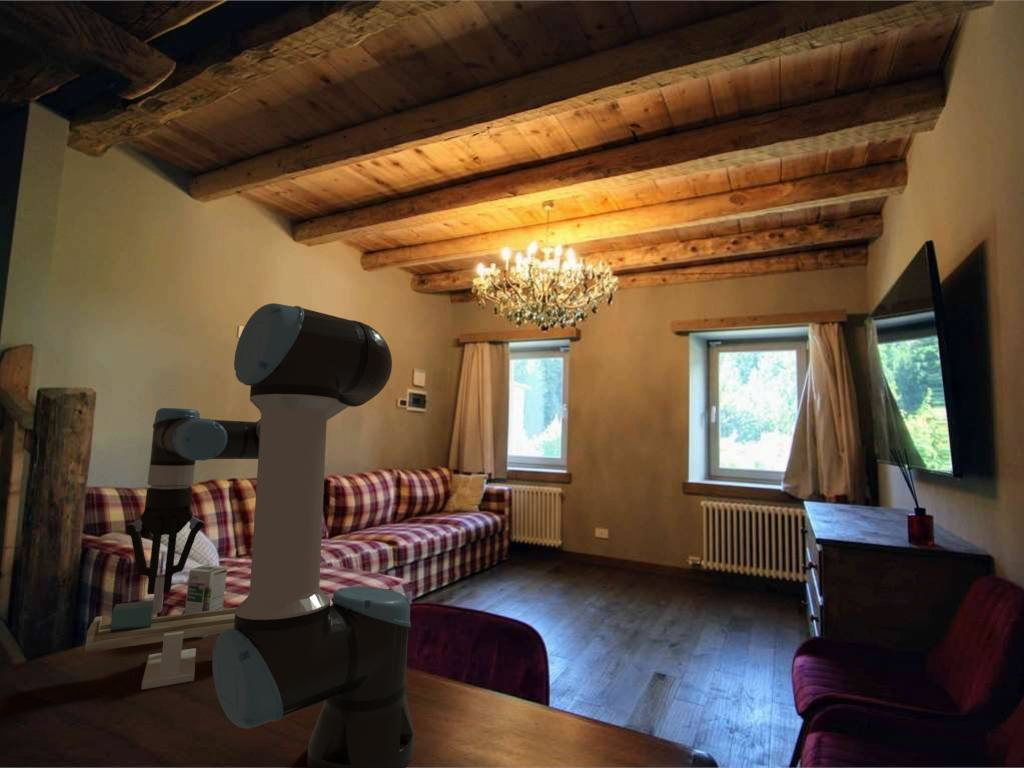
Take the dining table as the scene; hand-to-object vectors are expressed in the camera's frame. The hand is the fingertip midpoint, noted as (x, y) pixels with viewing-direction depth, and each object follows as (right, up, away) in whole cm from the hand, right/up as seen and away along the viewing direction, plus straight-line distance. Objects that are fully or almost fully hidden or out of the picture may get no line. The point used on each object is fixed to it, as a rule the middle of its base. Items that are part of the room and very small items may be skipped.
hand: (157, 610), depth 98 cm
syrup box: (-3, -14, +19) cm, 24 cm away
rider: (-3, -3, -2) cm, 5 cm away
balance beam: (+3, -8, +1) cm, 8 cm away
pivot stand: (+2, -12, 0) cm, 12 cm away
